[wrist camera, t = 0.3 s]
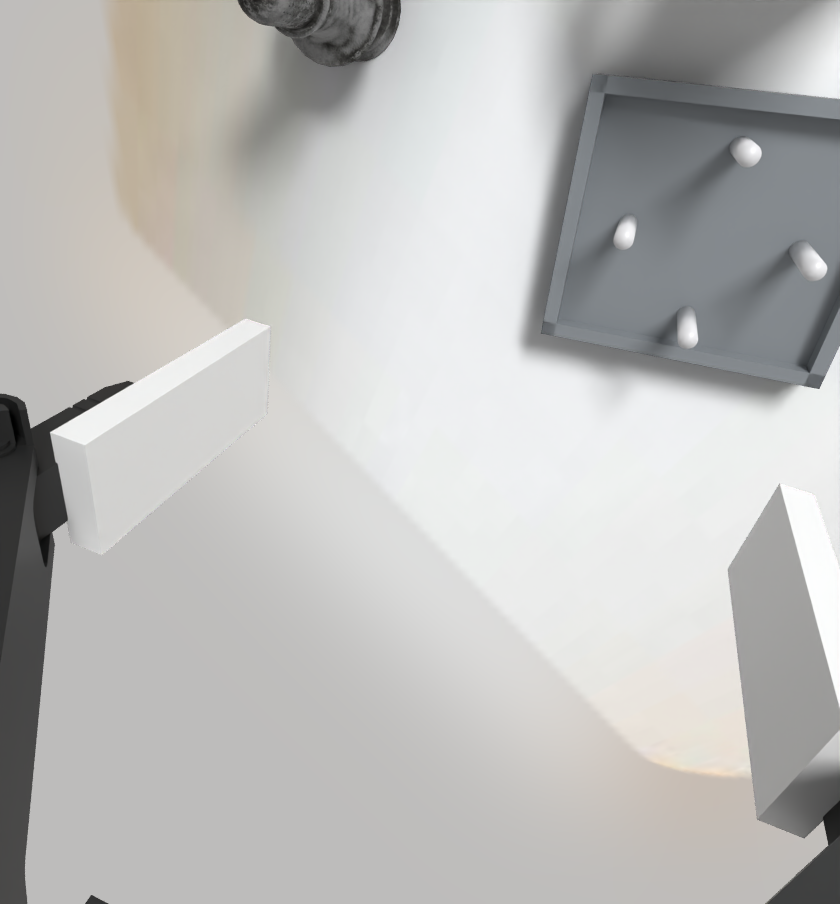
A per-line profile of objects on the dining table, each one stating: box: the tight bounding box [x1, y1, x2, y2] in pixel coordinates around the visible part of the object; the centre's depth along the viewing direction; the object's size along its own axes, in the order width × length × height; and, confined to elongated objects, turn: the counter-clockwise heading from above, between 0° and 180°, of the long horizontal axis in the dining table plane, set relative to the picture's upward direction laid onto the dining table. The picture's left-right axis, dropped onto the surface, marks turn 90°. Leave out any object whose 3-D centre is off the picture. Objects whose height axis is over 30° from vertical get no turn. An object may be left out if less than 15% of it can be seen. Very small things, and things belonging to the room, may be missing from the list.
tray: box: [541, 74, 840, 389], centre depth 34 cm, size 14×16×6 cm
